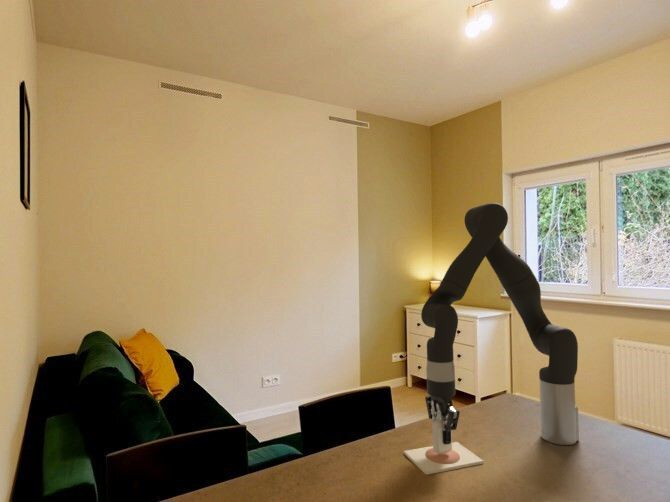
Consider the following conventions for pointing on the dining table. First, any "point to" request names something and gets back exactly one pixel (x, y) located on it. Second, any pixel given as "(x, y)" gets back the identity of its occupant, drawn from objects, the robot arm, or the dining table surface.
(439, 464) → the card
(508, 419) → the dining table surface
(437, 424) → the eye dropper bottle
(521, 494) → the dining table surface
